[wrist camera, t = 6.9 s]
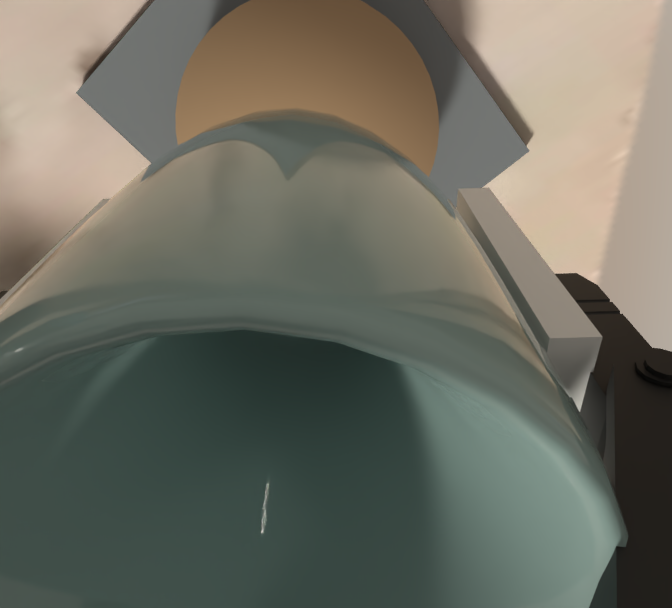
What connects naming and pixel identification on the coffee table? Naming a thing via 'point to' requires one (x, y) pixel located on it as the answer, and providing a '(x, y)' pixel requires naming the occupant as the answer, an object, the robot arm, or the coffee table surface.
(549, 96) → the coffee table surface
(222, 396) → the cup
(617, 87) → the coffee table surface
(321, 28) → the stand
